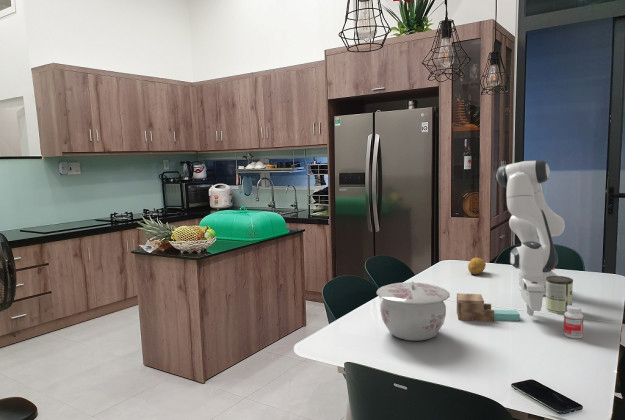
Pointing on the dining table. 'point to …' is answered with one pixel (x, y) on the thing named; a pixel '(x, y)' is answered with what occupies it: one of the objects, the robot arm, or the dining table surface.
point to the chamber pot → (413, 309)
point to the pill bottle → (573, 322)
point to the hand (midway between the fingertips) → (530, 314)
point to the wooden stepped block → (473, 308)
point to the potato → (476, 265)
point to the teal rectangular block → (506, 315)
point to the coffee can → (558, 293)
